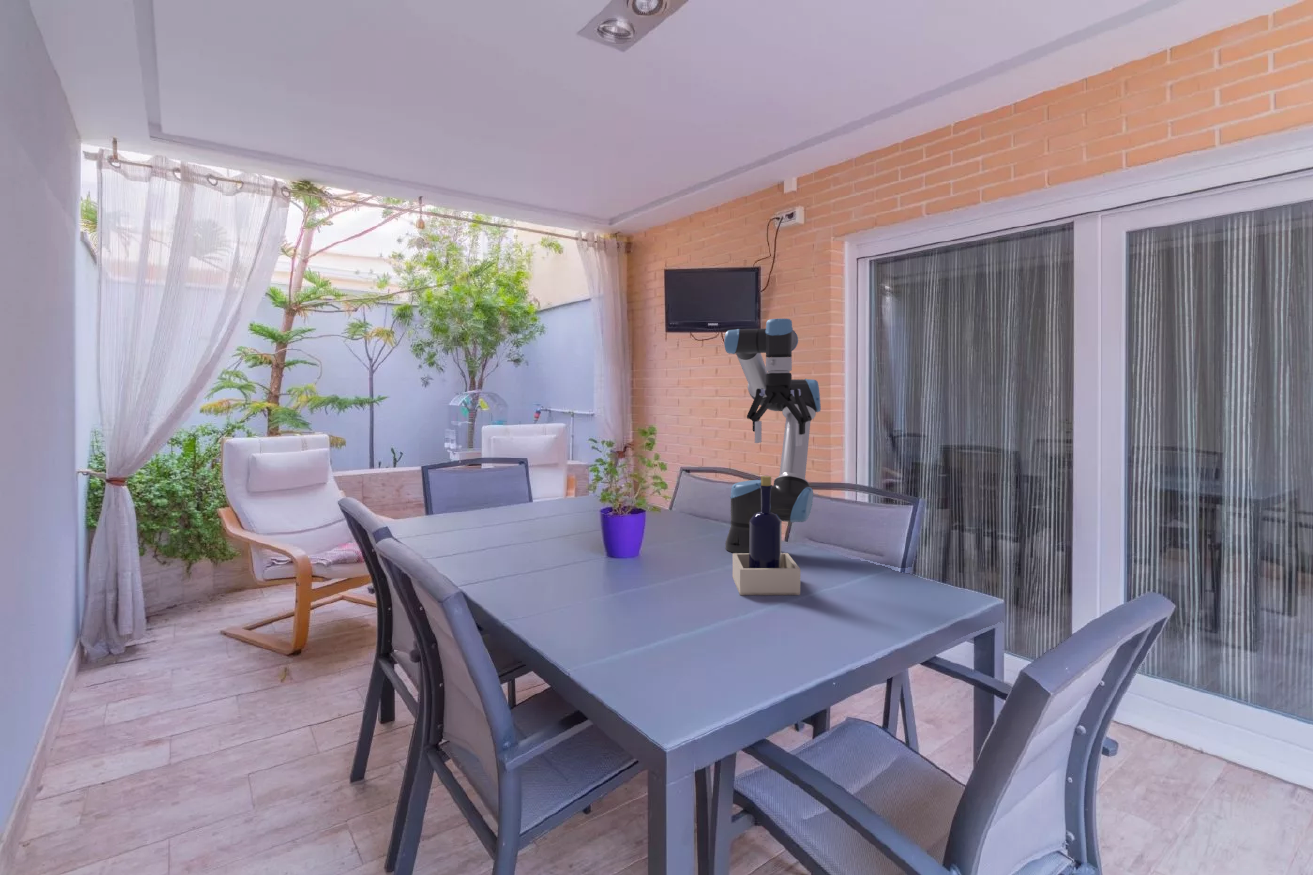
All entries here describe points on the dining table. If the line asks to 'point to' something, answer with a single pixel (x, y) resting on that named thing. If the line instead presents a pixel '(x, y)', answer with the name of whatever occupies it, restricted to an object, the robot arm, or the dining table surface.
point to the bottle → (765, 532)
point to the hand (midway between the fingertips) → (778, 444)
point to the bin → (766, 577)
